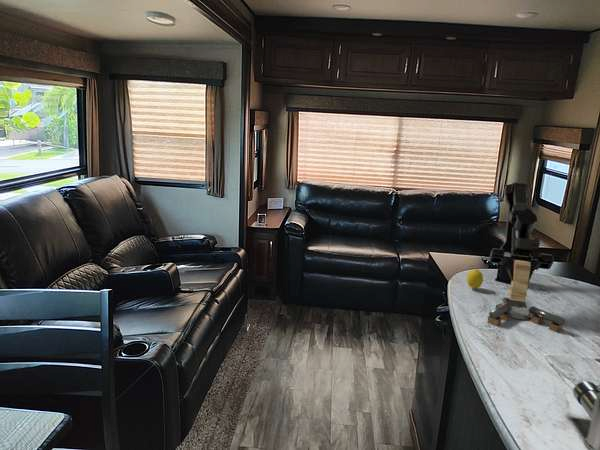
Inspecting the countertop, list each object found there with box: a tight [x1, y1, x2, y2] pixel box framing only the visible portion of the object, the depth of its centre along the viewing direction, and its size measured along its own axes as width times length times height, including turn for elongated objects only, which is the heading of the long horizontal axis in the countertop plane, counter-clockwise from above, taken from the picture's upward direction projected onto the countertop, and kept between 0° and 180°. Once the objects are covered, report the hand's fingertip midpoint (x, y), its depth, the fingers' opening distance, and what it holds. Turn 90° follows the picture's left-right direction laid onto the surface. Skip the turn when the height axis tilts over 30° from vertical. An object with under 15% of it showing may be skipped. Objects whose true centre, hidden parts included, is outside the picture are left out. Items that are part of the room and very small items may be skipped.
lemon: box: [466, 268, 484, 290], centre depth 169 cm, size 6×6×8 cm
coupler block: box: [508, 260, 531, 302], centre depth 148 cm, size 5×5×12 cm
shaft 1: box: [486, 304, 512, 327], centre depth 143 cm, size 10×3×4 cm, turn 130°
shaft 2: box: [529, 305, 565, 333], centre depth 141 cm, size 10×3×4 cm, turn 30°
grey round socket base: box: [494, 297, 533, 321], centre depth 150 cm, size 12×12×3 cm
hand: (520, 281), depth 146 cm, fingers closed on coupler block, 4 cm apart
